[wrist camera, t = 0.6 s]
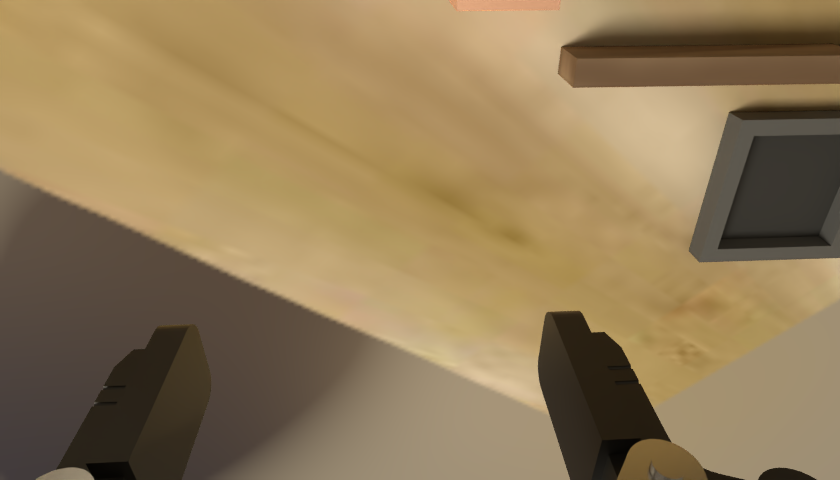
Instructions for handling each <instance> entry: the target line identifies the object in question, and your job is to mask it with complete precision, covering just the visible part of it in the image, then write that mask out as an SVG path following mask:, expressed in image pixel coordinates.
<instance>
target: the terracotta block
mask: <svg viewBox="0 0 840 480" xmlns="http://www.w3.org/2000/svg"><path fill="white" fill-rule="evenodd" d="M449 1H450V3H451V4H452V5H453V7H454V8H455V9H456V11H508V10H559V9H560V1H561V0H449Z"/></svg>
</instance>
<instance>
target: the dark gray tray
mask: <svg viewBox="0 0 840 480" xmlns="http://www.w3.org/2000/svg"><path fill="white" fill-rule="evenodd" d="M689 252H690V253H691V254H692V255H693V256H694V257H695V258H696V259H697V260H698V262H723V261H755V260H787V259H819V258H840V110H838V111H781V112H729V115H728V118H727V121H726V125H725V128H724V132H723V135H722V139H721V142H720V145H719V149H718V152H717V156H716V159H715V162H714V166H713V169H712V173H711V176H710V180H709V183H708V186H707V190H706V193H705V197H704V200H703V204H702V207H701V210H700V214H699V217H698V221H697V224H696V228H695V231H694V234H693V238H692V241H691V245H690V248H689Z"/></svg>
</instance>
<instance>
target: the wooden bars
mask: <svg viewBox="0 0 840 480" xmlns="http://www.w3.org/2000/svg"><path fill="white" fill-rule="evenodd" d="M558 74H559V75H560V76H561V77H562V78H563V79H564V80H565V81H567V82H568V83H569V84H570V85H571V86H572V87H573V88H580V87H646V86H712V85H777V84H840V46H838V45H834V44H769V45H683V46H596V47H561V54H560V62H559V70H558Z"/></svg>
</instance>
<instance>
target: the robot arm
mask: <svg viewBox="0 0 840 480" xmlns="http://www.w3.org/2000/svg"><path fill="white" fill-rule="evenodd" d="M538 374H539V381H540V386H541V389H542V392H543V395H544V399H545V402H546V405H547V408H548V411H549V414H550V417H551V421H552V424H553V427H554V430H555V433H556V436H557V439H558V442H559V446H560V449H561V452H562V455H563V458H564V461H565V464H566V468H567V470H568V474H569V477H570V480H743V479H739V478H735V477H730V476H726V475H722V474H718V473H714V472H711V471H709V470H706V469H704V468H703V467H702V466H701V464H700V463H699V462H698V461H697V459H696V458H695V457H694V456H693V455H691V454H690V453H689V452H688V451H686V450H685V449H683V448H682V447H680V446H678V445H676V444H674V443H672V442H671V441H670V439H669V437H668V435H667V434H666V432H665V430H664V428H663V426H662V424H661V422H660V420H659V418H658V416H657V415H656V413H655V411H654V409H653V407H652V405H651V403H650V401H649V399H648V397H647V395H646V393H645V392H644V390H643V388H642V386H641V384H639V382H638V378H637V376H636V374H635V373H634V371H633V369H631V365H630V363H629V361H628V359H627V357H626V355H625V353H624V352H623V350H622V348H621V347H620V346H619V345H618V344H617V343H616V342H615V341H614V340H613V339H611V338H610V337H609V336H608V335H607V334H606V333H605V332H594V333H591V331H590V329H589V327H588V325H587V322H586V320H585V318H584V316H583V314H582V313H581V312H580V311H561V312H547V313H546V315H545V320H544V326H543V332H542V339H541V345H540V352H539V359H538ZM103 387H104V389H103V390H101V392H100V394H99V395H98V397H97V399H96V400H95V402H94V407H92V408H91V409H90V411H89V413H88V415H87V416H86V418H85V420H84V422H83V423H82V425H81V427H80V429H79V430H78V432H77V434H76V436H75V437H74V439H73V441H72V443H71V445H70V446H69V448H68V450H67V452H66V453H65V455H64V457H63V459H62V460H61V462H60V464H59V466H58V467H57V469H56V470H55V471H52V472H49V473H47V474H45V475H43V476H41V477H39V478H37V479H35V480H182V477H183V474H184V471H185V469H186V466H187V462H188V460H189V457H190V454H191V451H192V448H193V445H194V442H195V439H196V437H197V434H198V431H199V428H200V425H201V422H202V419H203V416H204V413H205V410H206V407H207V404H208V402H209V398H210V392H211V374H210V370H209V366H208V363H207V359H206V356H205V352H204V348H203V345H202V341H201V338H200V334H199V331H198V329H197V327H196V326H195V325H193V324H189V325H163V326H162V325H161V326H158V327H157V329H156V330H155V331H154V333H153V335H152V337H151V339H150V341H149V343H148V345H147V347H146V348H145V349H138V350H133V351H132V352H130V354H128V355H127V356H126V357H125V358H124V359H123V360H122V361H121V362H119V363H118V364H117V365H116V366H115V367H114V369H113V371H112V372H111V374H110V376H109V378H108V379H107V381H106V383H105V385H104V386H103ZM758 480H816V479H815V478H813V477H811V476H809V475H807V474H805V473H802V472H800V471H796V470H793V469H788V468H773V469H769V470H767V471H765V472H763V473H762V475H760V477H759V479H758Z"/></svg>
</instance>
